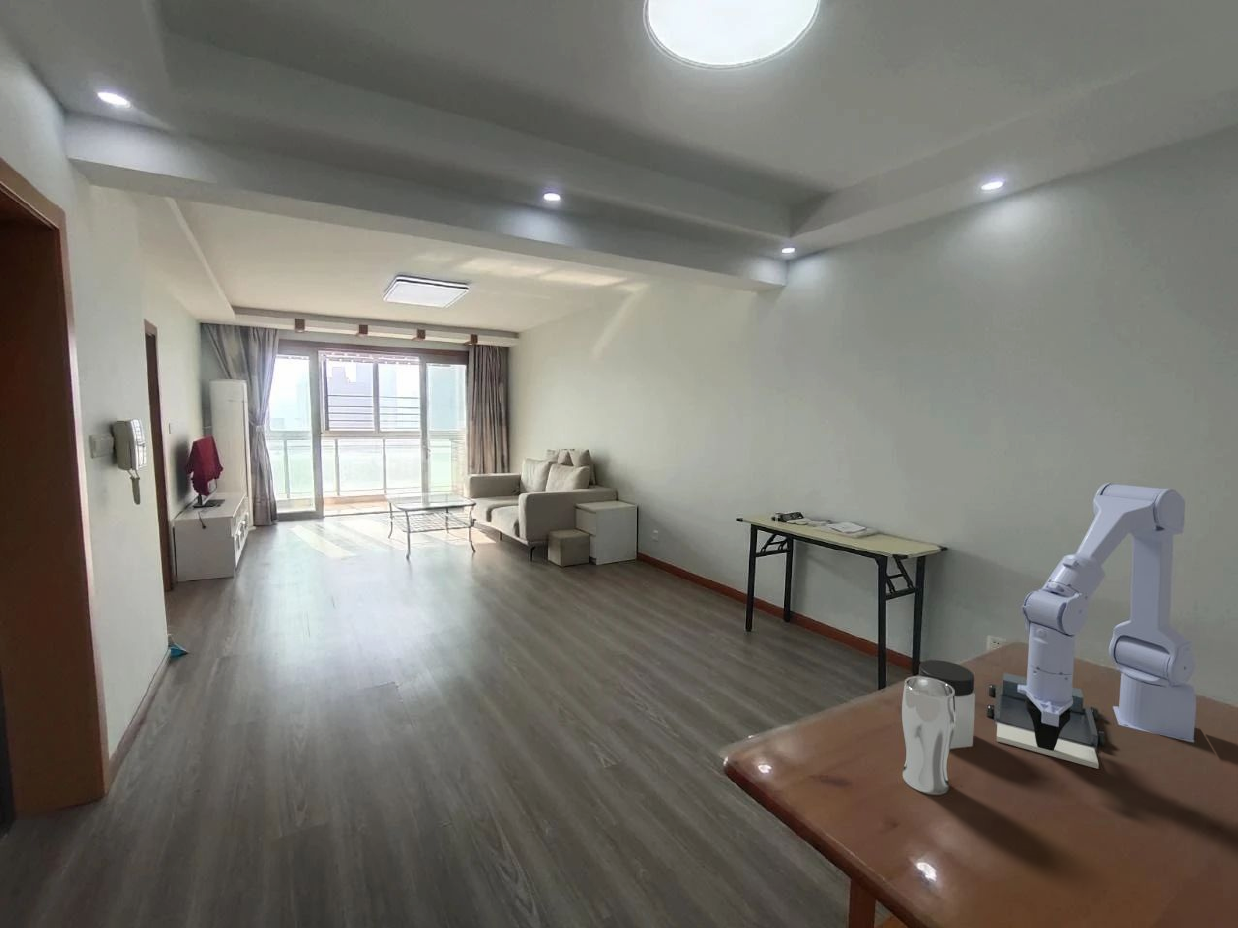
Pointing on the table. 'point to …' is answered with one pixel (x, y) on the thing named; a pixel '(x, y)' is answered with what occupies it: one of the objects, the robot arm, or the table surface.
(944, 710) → the beer glass
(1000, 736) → the panel
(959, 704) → the jar
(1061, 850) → the table surface
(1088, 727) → the grey piece
